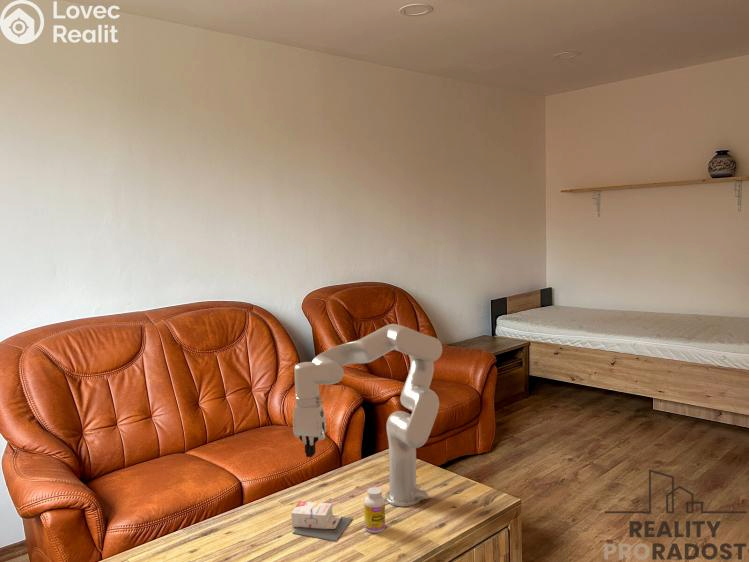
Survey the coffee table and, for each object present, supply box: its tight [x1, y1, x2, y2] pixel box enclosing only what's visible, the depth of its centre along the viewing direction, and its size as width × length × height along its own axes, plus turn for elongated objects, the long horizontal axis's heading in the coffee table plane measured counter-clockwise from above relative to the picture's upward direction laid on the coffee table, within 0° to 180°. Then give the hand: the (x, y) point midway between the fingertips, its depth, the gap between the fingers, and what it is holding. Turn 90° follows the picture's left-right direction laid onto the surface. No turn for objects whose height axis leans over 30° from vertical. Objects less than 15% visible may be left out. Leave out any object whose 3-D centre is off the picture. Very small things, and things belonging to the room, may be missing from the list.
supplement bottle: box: [363, 486, 386, 534], centre depth 185 cm, size 7×7×13 cm
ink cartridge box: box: [290, 500, 342, 529], centre depth 189 cm, size 9×5×15 cm
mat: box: [292, 514, 353, 543], centre depth 187 cm, size 15×14×1 cm
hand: (310, 455), depth 187 cm, fingers closed
